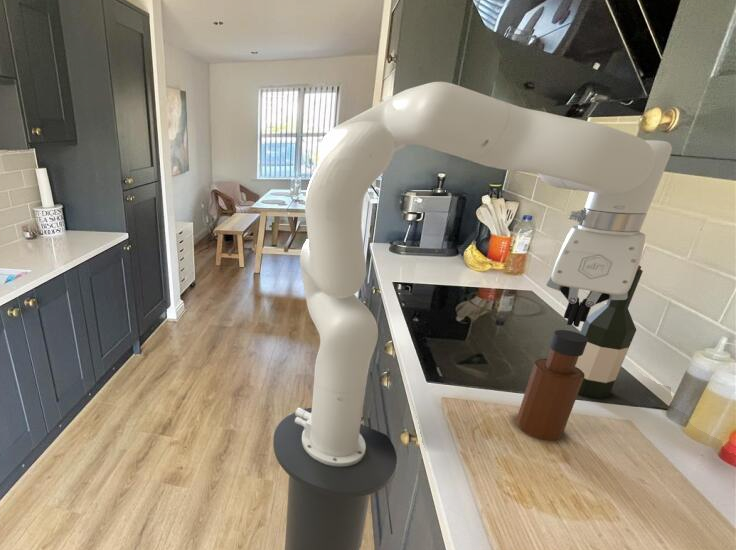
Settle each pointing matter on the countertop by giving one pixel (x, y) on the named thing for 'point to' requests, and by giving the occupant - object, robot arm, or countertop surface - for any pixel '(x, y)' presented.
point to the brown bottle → (550, 396)
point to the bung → (568, 343)
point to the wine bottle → (606, 344)
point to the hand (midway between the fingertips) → (572, 323)
